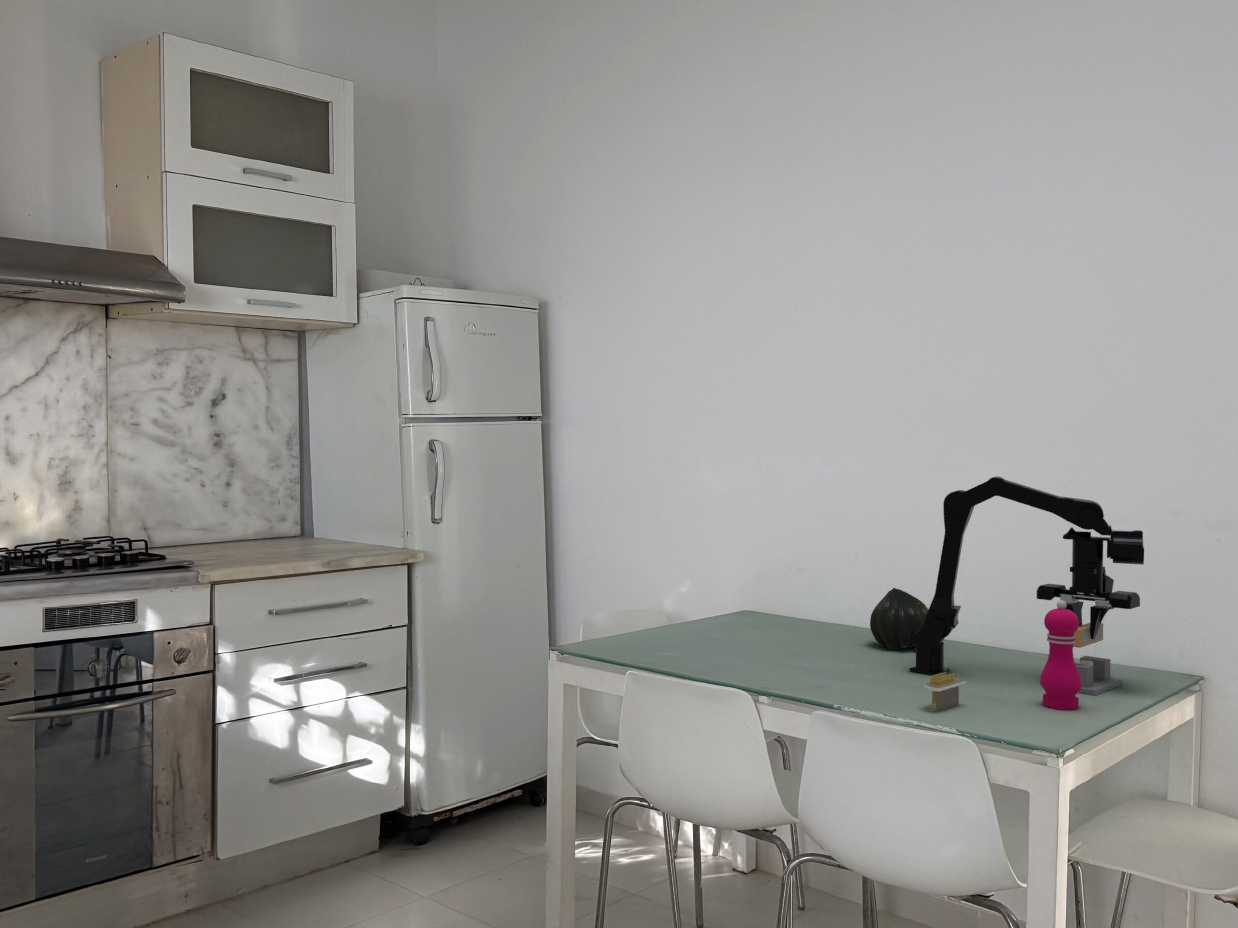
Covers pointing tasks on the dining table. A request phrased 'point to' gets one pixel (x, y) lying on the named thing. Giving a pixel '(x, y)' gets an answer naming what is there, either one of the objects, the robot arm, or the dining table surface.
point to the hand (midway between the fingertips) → (1086, 637)
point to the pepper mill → (1061, 660)
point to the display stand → (1096, 675)
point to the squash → (897, 619)
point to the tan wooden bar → (1087, 636)
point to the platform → (944, 690)
